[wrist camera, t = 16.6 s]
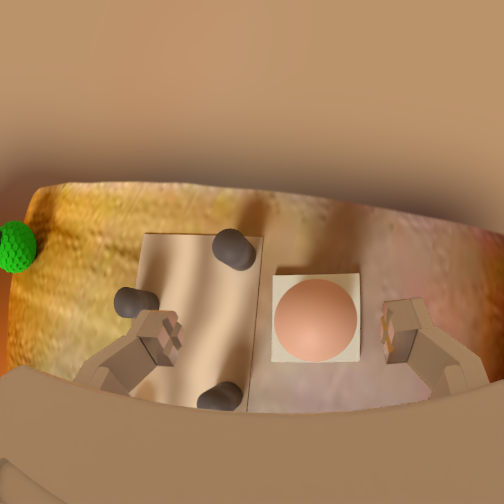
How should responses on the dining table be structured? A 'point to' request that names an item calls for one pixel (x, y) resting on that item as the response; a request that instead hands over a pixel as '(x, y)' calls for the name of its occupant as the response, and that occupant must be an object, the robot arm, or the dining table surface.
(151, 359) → the robot arm
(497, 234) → the dining table surface
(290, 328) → the tan cylinder block
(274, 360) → the mat
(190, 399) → the post board
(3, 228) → the ornament
